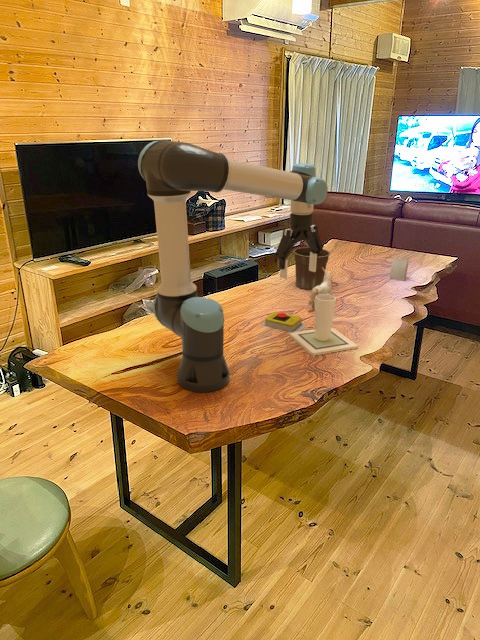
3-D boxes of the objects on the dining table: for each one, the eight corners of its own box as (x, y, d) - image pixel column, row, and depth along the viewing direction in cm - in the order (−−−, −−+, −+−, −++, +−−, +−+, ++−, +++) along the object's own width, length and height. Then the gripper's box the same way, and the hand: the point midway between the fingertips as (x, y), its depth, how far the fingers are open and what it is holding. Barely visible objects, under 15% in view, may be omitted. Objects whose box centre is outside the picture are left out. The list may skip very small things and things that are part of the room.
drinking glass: (309, 340, 165) (312, 298, 160) (315, 333, 171) (319, 292, 165) (328, 344, 162) (332, 302, 157) (334, 337, 168) (338, 296, 162)
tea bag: (403, 281, 232) (406, 260, 228) (389, 278, 235) (392, 258, 231) (405, 279, 235) (408, 259, 231) (391, 276, 238) (394, 256, 234)
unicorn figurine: (335, 299, 206) (338, 269, 201) (324, 315, 190) (326, 282, 185) (319, 297, 209) (321, 267, 204) (306, 312, 193) (308, 279, 187)
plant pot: (334, 289, 218) (337, 254, 212) (302, 293, 213) (304, 257, 207) (315, 279, 232) (318, 246, 226) (285, 282, 227) (287, 248, 221)
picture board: (312, 356, 157) (313, 353, 156) (289, 335, 171) (289, 332, 171) (357, 348, 162) (358, 345, 162) (331, 329, 177) (331, 326, 177)
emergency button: (272, 307, 186) (308, 315, 179) (271, 318, 188) (307, 326, 181) (260, 315, 178) (298, 323, 171) (260, 326, 180) (297, 335, 173)
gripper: (280, 218, 151) (278, 283, 159) (336, 210, 165) (331, 270, 173) (265, 215, 157) (263, 278, 165) (320, 207, 171) (316, 265, 179)
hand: (298, 274), depth 169 cm, fingers open, 13 cm apart
